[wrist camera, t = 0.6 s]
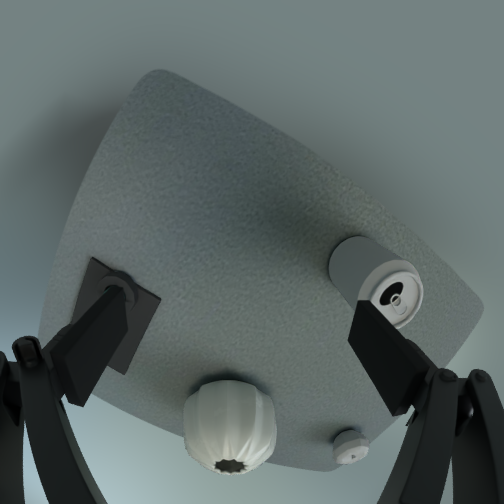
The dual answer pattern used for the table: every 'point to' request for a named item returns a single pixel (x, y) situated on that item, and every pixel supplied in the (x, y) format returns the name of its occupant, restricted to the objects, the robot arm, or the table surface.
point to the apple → (350, 447)
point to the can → (376, 279)
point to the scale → (136, 304)
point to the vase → (229, 427)
